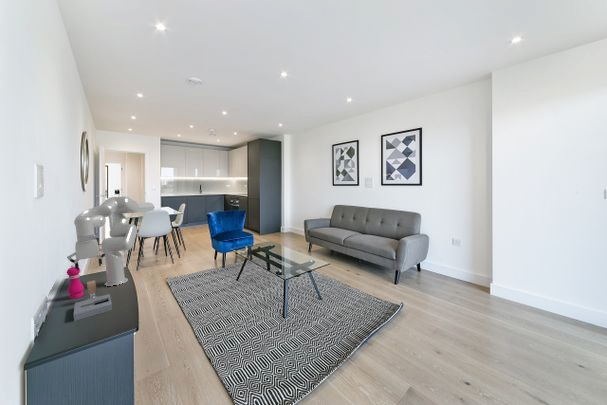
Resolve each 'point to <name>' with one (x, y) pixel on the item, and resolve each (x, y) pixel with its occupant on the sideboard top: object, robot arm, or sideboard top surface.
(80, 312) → the keyhole board
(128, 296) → the sideboard top surface
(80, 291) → the pepper mill
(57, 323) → the sideboard top surface
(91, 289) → the keyhole peg
